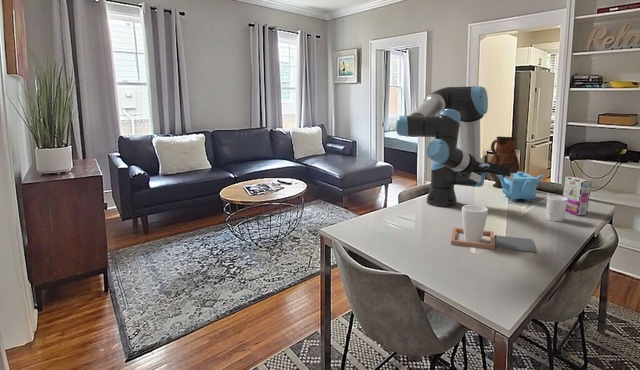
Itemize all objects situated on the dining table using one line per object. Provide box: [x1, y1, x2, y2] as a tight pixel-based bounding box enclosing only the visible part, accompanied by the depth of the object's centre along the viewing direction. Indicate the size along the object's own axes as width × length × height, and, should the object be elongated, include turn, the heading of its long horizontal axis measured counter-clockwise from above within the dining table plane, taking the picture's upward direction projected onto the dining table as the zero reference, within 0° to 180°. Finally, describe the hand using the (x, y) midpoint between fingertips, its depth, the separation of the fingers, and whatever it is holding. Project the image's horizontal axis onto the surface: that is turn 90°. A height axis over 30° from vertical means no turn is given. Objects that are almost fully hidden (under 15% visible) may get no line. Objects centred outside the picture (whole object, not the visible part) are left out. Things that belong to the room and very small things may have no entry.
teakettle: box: [496, 171, 546, 202], centre depth 205 cm, size 19×19×15 cm
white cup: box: [545, 195, 568, 222], centre depth 172 cm, size 8×8×10 cm
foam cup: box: [461, 204, 489, 243], centre depth 151 cm, size 10×9×13 cm
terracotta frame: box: [450, 227, 496, 250], centre depth 153 cm, size 15×15×2 cm
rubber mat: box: [494, 234, 537, 254], centre depth 147 cm, size 13×13×1 cm
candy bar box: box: [562, 175, 592, 217], centre depth 180 cm, size 11×5×16 cm, turn 5°
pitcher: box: [488, 136, 520, 189], centre depth 229 cm, size 17×21×30 cm
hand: (495, 178), depth 150 cm, fingers open, 13 cm apart
